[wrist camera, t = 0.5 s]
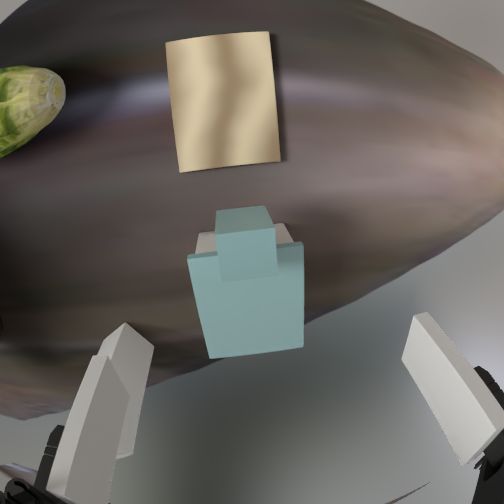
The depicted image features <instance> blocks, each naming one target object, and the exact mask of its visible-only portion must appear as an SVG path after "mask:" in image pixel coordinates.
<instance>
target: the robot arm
mask: <svg viewBox="0 0 504 504" xmlns="http://www.w3.org/2000/svg"><path fill="white" fill-rule="evenodd" d="M1 332H2V324H1V320H0V335H1ZM401 360H402V361H403V363H404V364H405V366H406V368H407V370H408V371H409V373H410V374H411V376H412V378H413V379H414V381H415V383H416V384H417V386H418V388H419V389H420V391H421V392H422V395H423V396H424V398H425V400H426V401H427V403H428V405H429V407H430V408H431V410H432V412H433V414H434V415H435V417H436V419H437V421H438V422H439V424H440V426H441V428H442V430H443V432H444V433H445V435H446V437H447V439H448V441H449V443H450V445H451V446H452V448H453V450H454V452H455V454H456V456H457V458H458V460H459V461H460V464H461V466H464V465H466V464H468V463H469V462H471V461H473V460H474V459H476V458H477V457H478V456H479V455H480V454H481V453H482V452H484V454H485V456H483V457H482V458H481V459H480V460H479V461H478V463H477V464H476V465H475V467H474V469H476V468H478V467H479V466H480V465H481V464H482V465H481V467H480V468H479V470H480V474H479V478H478V482H477V486H476V490H475V494H474V497H473V501H472V504H504V393H503V391H502V390H501V389H500V387H499V385H498V384H497V383H495V380H494V379H493V378H492V376H491V375H490V374H489V372H488V371H486V370H485V369H483V368H481V367H480V366H477V367H475V368H473V367H472V366H471V365H470V363H469V362H468V361H467V360H466V358H465V357H464V356H463V354H462V353H461V352H460V351H459V349H458V348H457V347H456V346H455V344H454V343H453V342H452V341H451V339H450V338H449V337H448V336H447V335H446V333H445V332H444V331H443V330H442V329H441V327H440V326H439V325H438V324H437V323H436V322H435V320H434V319H433V318H432V317H431V316H430V315H429V313H428V312H424V313H420V314H416V315H414V316H413V320H412V324H411V327H410V331H409V335H408V339H407V342H406V346H405V349H404V352H403V356H402V359H401ZM129 398H130V395H129V394H128V392H127V390H126V388H125V387H124V385H123V383H122V381H121V380H120V378H119V376H118V374H117V372H116V370H115V368H114V367H113V365H112V363H111V361H110V359H109V357H108V355H93V357H92V359H91V361H90V363H89V366H88V368H87V371H86V373H85V375H84V378H83V380H82V383H81V385H80V388H79V390H78V393H77V395H76V398H75V401H74V403H73V406H72V409H71V412H70V414H69V417H68V420H67V422H66V425H65V426H62V425H57V426H56V428H55V429H54V430H53V431H52V433H51V434H50V436H49V439H48V442H47V447H46V448H45V451H44V455H43V457H42V461H41V463H40V466H39V470H38V473H37V476H36V480H35V483H34V486H31V485H30V484H28V483H27V482H26V481H24V480H23V479H20V478H14V479H12V480H10V481H9V482H8V483H7V485H6V487H5V492H4V493H3V492H1V491H0V504H108V501H109V495H110V489H111V483H112V477H113V472H114V466H115V461H116V456H117V451H118V446H119V441H120V437H121V432H122V427H123V423H124V419H125V414H126V410H127V406H128V402H129Z"/></svg>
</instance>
